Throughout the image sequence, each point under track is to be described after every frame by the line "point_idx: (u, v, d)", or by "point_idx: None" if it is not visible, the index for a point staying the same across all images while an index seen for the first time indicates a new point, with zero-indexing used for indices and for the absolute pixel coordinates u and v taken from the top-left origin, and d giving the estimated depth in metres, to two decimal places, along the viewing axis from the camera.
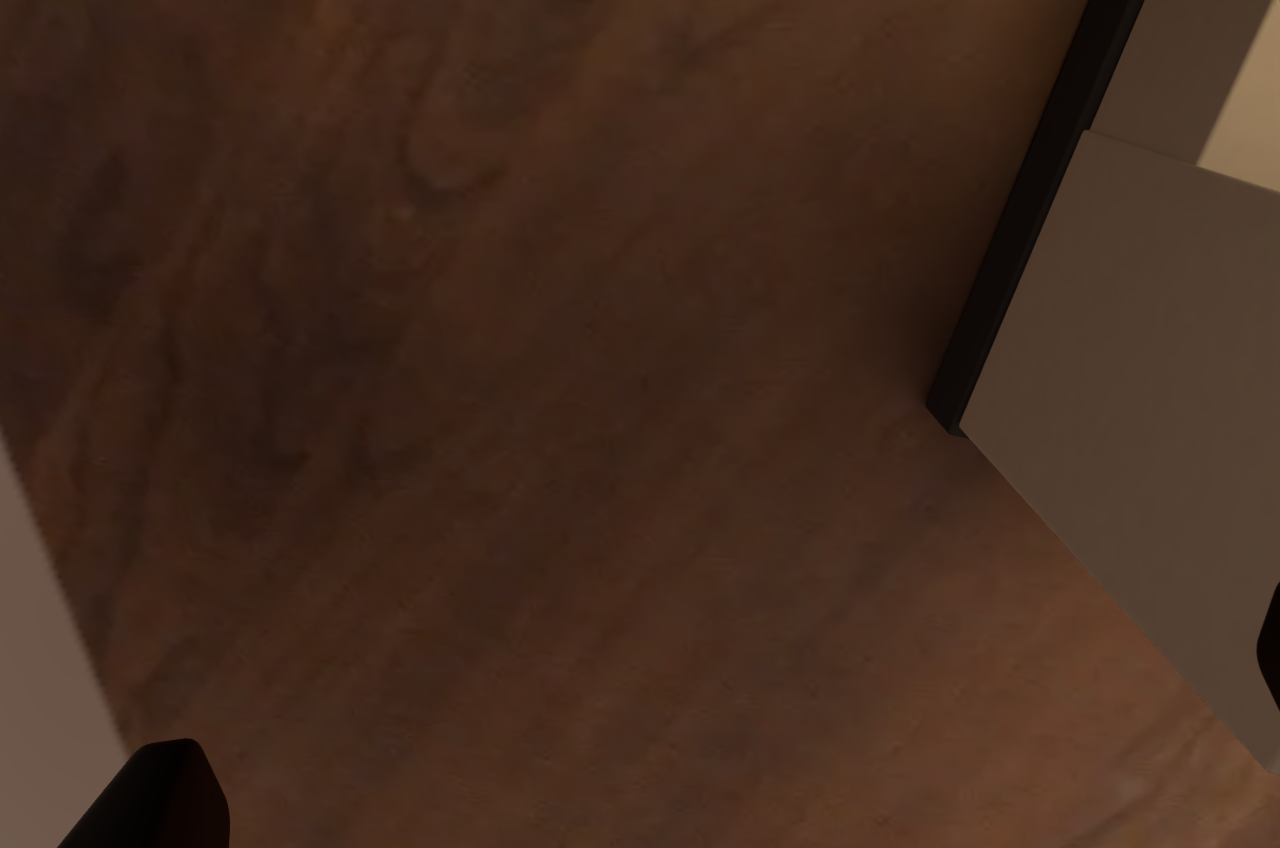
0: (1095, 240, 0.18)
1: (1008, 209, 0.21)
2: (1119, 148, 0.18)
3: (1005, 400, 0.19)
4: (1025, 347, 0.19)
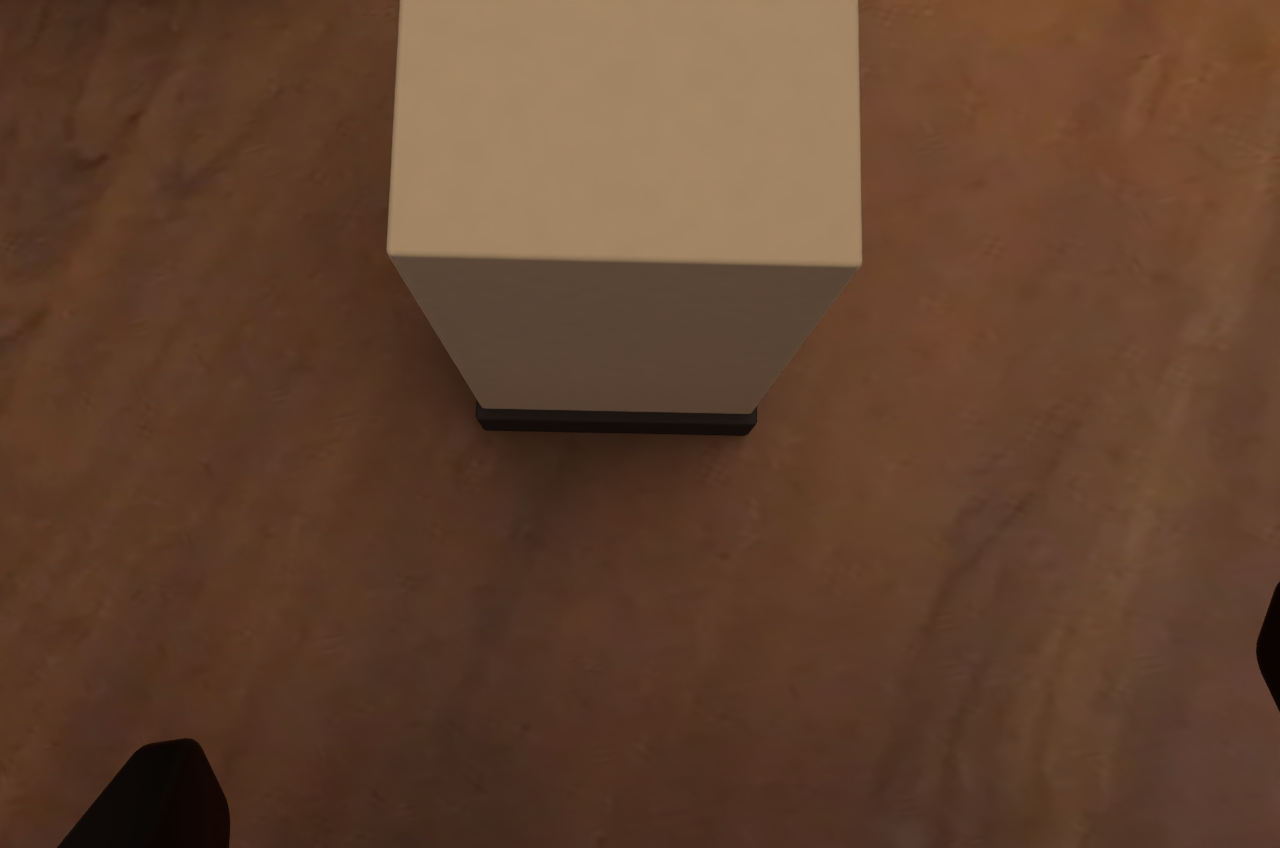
0: None
1: None
2: None
3: None
4: None
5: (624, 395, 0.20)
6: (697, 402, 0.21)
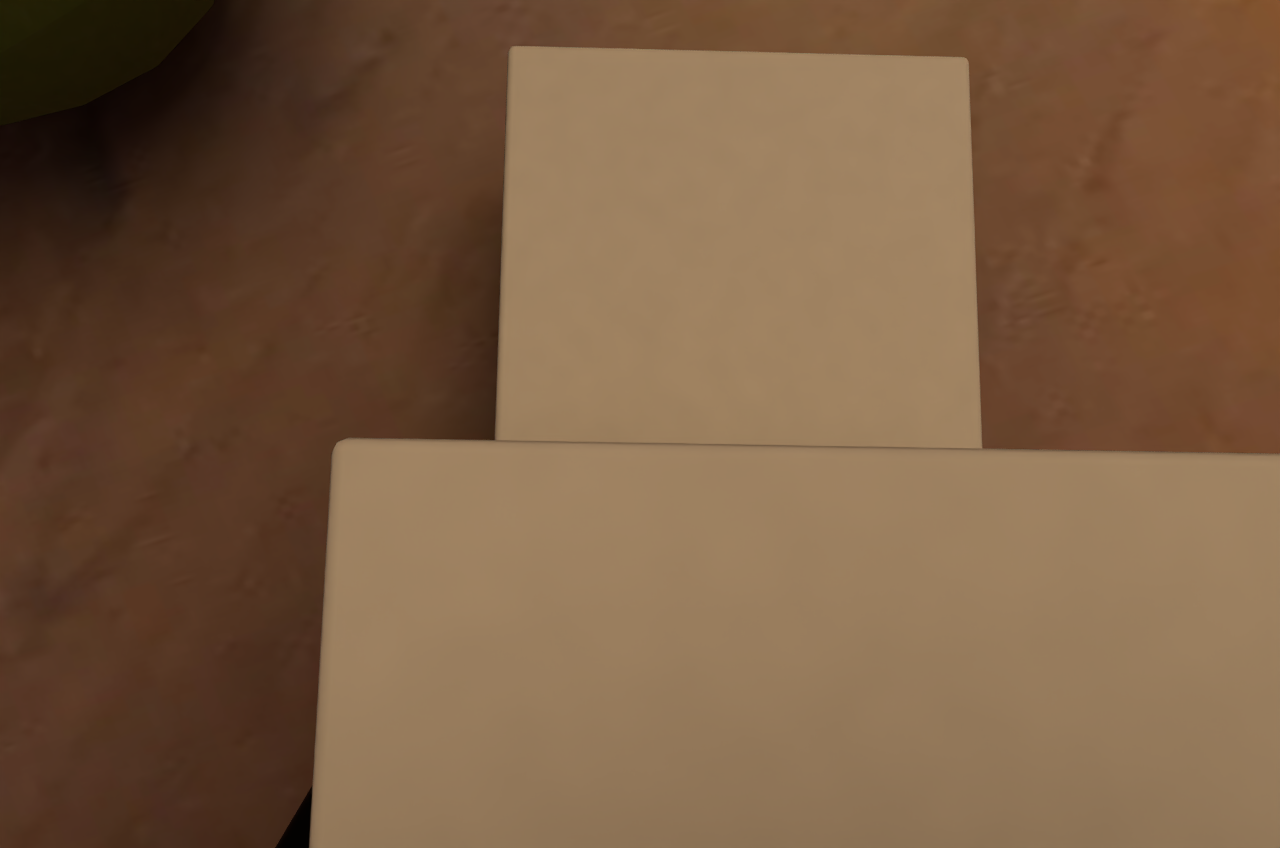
0: None
1: None
2: None
3: None
4: None
5: None
6: None
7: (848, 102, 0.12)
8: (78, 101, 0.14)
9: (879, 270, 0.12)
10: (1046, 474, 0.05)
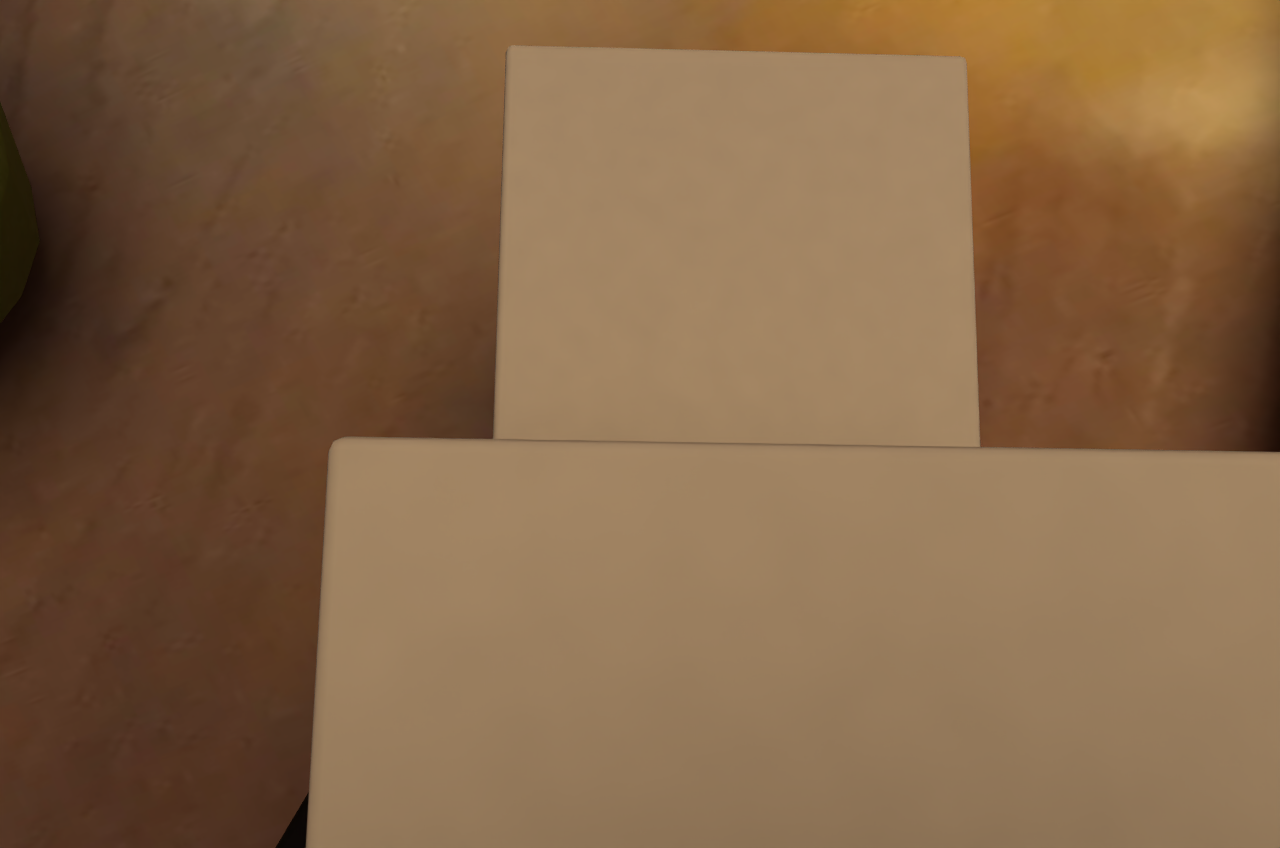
0: None
1: None
2: None
3: None
4: None
5: None
6: None
7: (846, 101, 0.12)
8: None
9: (878, 270, 0.12)
10: (1042, 472, 0.05)
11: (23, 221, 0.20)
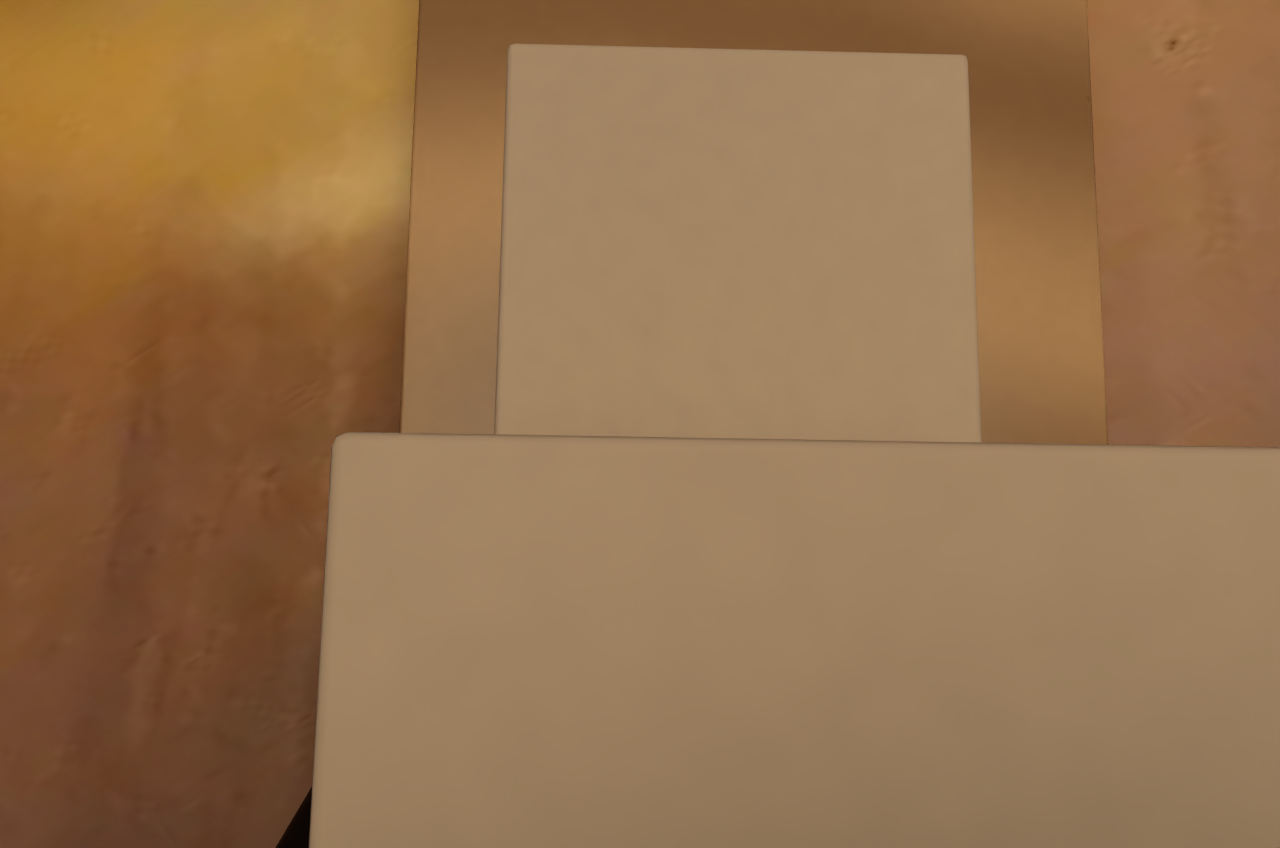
0: None
1: None
2: None
3: None
4: None
5: None
6: None
7: (848, 100, 0.12)
8: None
9: (879, 268, 0.12)
10: (1045, 467, 0.05)
11: None
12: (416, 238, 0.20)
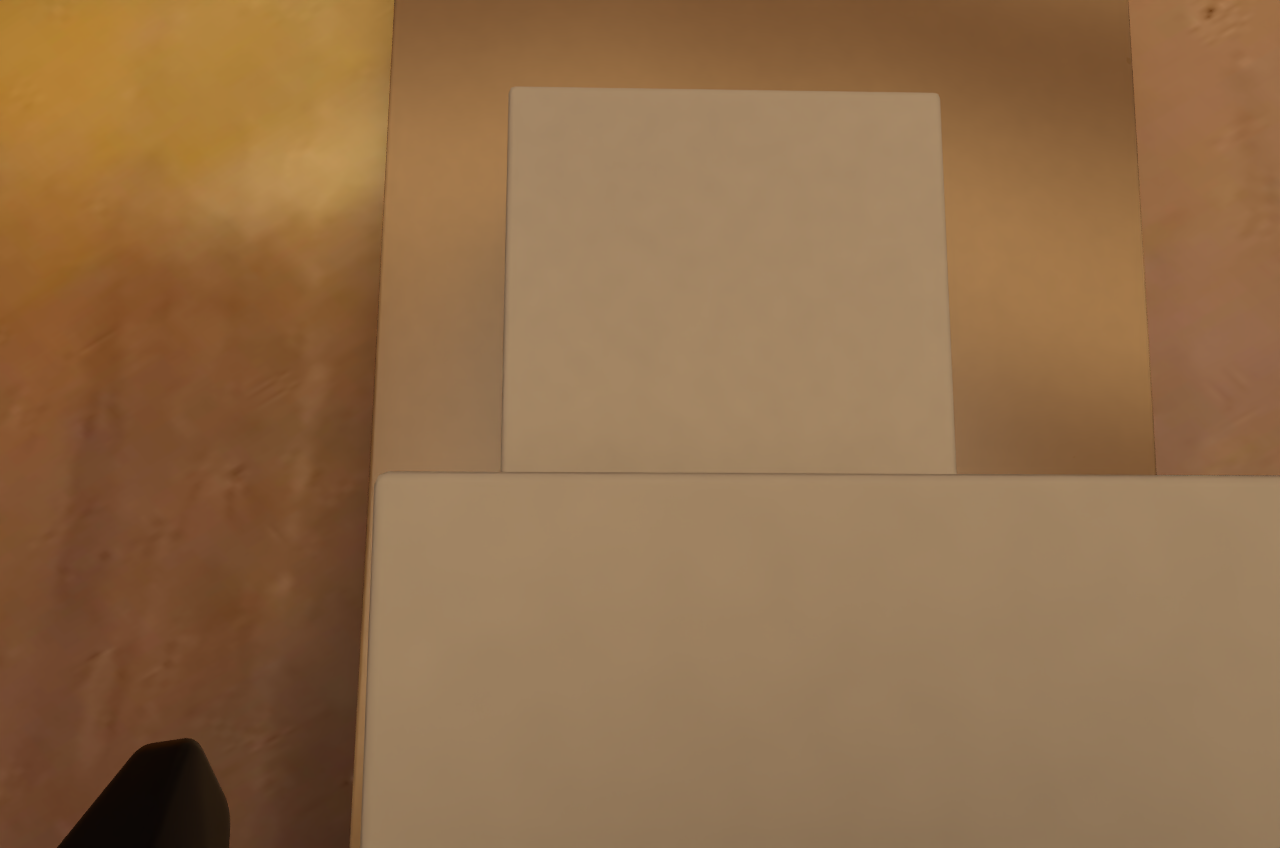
0: None
1: None
2: None
3: None
4: None
5: None
6: None
7: (828, 136, 0.13)
8: None
9: (858, 294, 0.13)
10: (993, 495, 0.06)
11: None
12: (392, 211, 0.18)
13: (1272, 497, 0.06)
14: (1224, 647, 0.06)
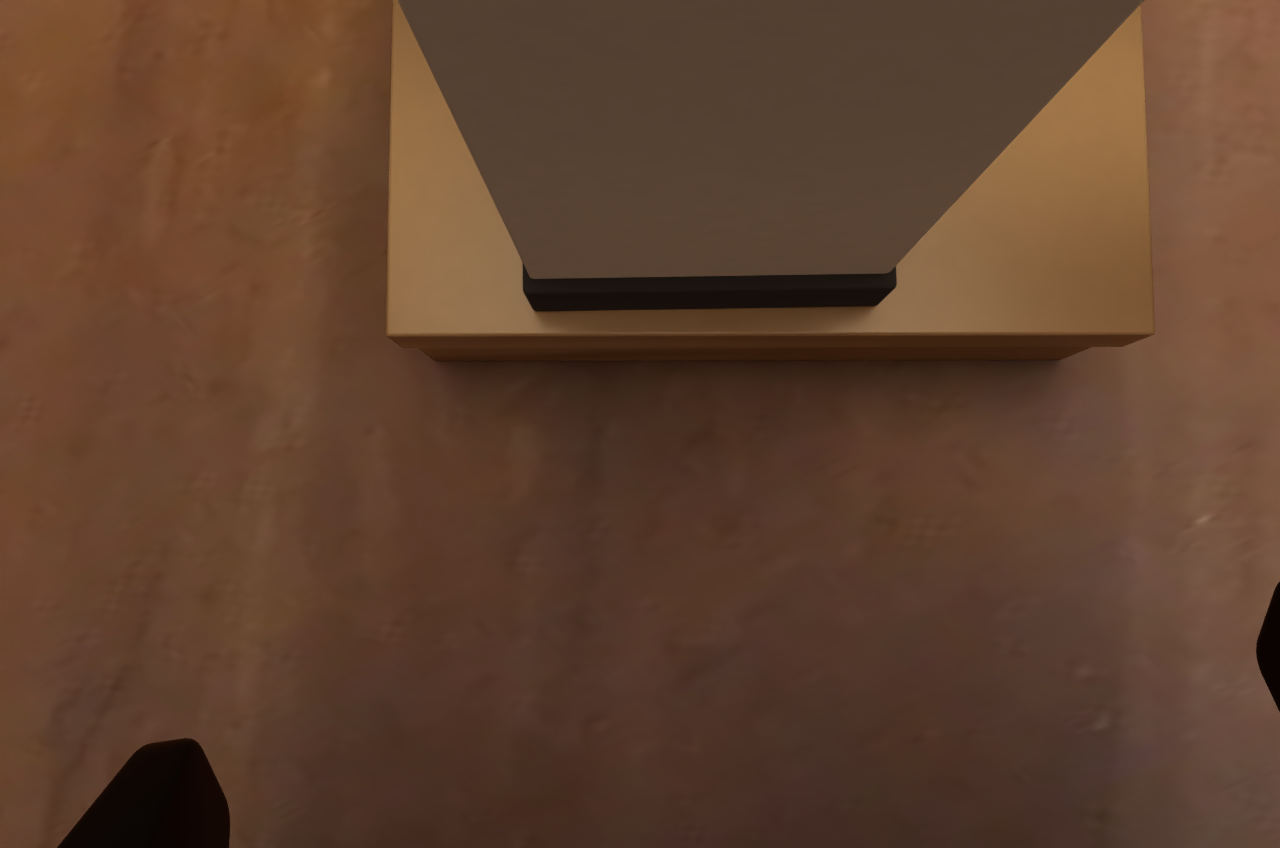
0: None
1: None
2: None
3: None
4: None
5: (725, 247, 0.15)
6: (822, 256, 0.15)
7: None
8: None
9: None
10: None
11: None
12: None
13: None
14: None
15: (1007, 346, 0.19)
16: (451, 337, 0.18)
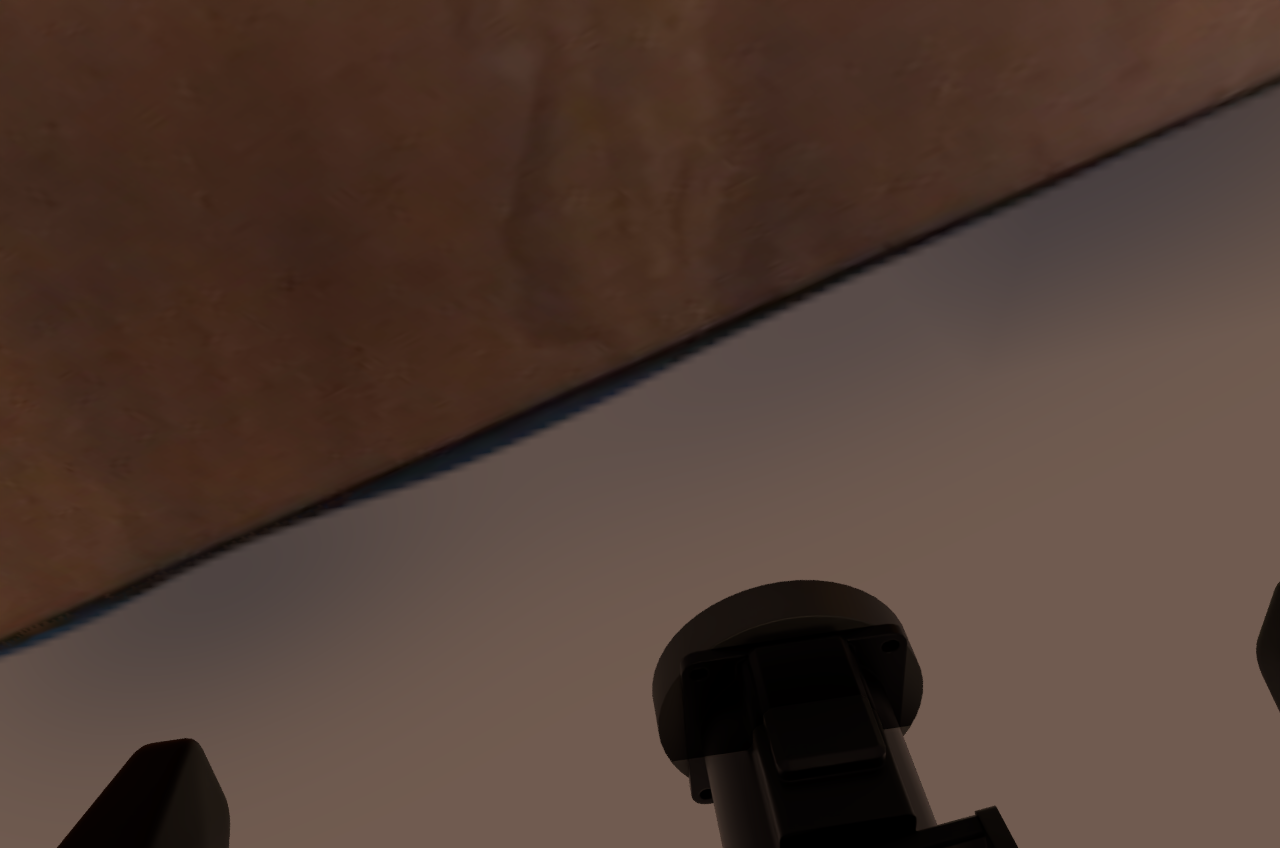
0: None
1: None
2: None
3: None
4: None
5: None
6: None
7: None
8: None
9: None
10: None
11: None
12: None
13: None
14: None
15: None
16: None
